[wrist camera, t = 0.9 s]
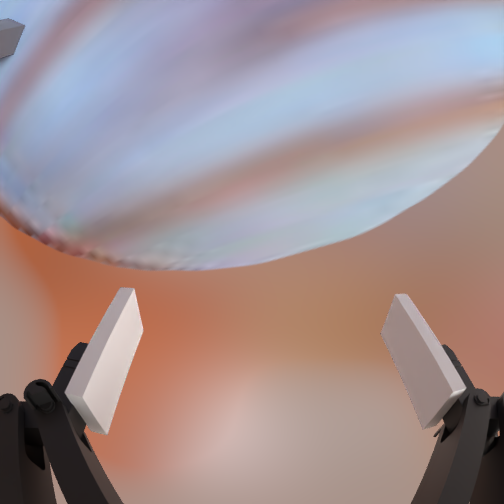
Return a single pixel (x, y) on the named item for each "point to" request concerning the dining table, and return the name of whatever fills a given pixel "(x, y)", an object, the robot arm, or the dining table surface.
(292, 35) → the dining table surface
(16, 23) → the plug
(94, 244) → the dining table surface
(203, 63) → the dining table surface
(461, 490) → the robot arm
